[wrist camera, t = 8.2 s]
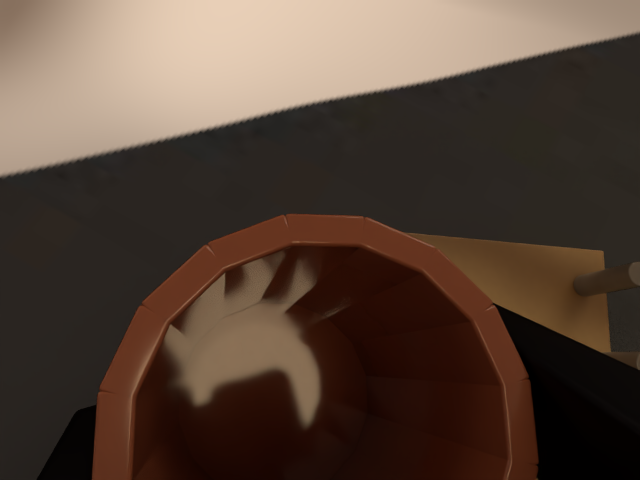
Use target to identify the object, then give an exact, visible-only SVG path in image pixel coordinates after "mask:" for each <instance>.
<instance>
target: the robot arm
mask: <svg viewBox="0 0 640 480" xmlns="http://www.w3.org/2000/svg"><path fill="white" fill-rule="evenodd" d="M492 305H495V306H496V308H497V310H498V312H499V314H500V316H501V318H502V320H503V322H504V324H505V327H506V329H507V331H508V333H509V335H510V337H511V339H512V341H513V343H514V345H515V348H516V350H517V352H518V354H519V356H520V358H521V360H522V362H523V364H524V366H525V369H526V371H527V373H528V375H529V378H528V379H529V380H530V382H531V390H532V400H533V409H534V419H535V429H536V438H537V448H538V457H539V463H538V464H537V466H538V473H537V477H536V478H537V480H640V370H638V369H636V368H634V367H632V366H630V365H628V364H625V363H623V362H621V361H619V360H617V359H615V358H612V357H610V356H608V355H606V354H604V353H601V352H599V351H597V350H595V349H593V348H591V347H588V346H586V345H584V344H582V343H580V342H578V341H575V340H573V339H571V338H569V337H567V336H565V335H562V334H560V333H558V332H556V331H554V330H552V329H549V328H547V327H545V326H543V325H541V324H538V323H536V322H534V321H532V320H530V319H528V318H525V317H523V316H521V315H519V314H517V313H515V312H512V311H510V310H508V309H506V308H504V307H502V306H499V305H497V304H495V303H493V304H492ZM95 419H96V405H94V406H91V407H87V408H84V409H80V410H78V411H77V412H76V413H75V414H74V415H73V417H72V419H71V421H70V422H69V424H68V426H67V428H66V429H65V431H64V433H63V435H62V436H61V438H60V440H59V442H58V443H57V445H56V447H55V449H54V450H53V452H52V454H51V456H50V457H49V459H48V461H47V462H46V464H45V466H44V468H43V469H42V471H41V473H40V475H39V476H38V478H37V480H91V477H92V463H93V448H94V433H95Z"/></svg>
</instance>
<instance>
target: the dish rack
mask: <svg viewBox="0 0 640 480" xmlns="http://www.w3.org/2000/svg"><path fill="white" fill-rule="evenodd" d="M403 233H404V232H403ZM405 234H408V235H410V236H412V237H415V238H417V239H419V240H422V241H424V242H426V243H429V244H431V245H433V246H435V247H436V249H439V250H441V251H442V252H443V253H444V254H445V255H446V256H447V257H448V258H449V259H450V260H451V261H452V262H453V263H454V264H455V265H456V266H457V267H458V268H459V269H460V270H461V271H462V272H463V273H464V274H465V275H466V276H467V277H468V278H469V279H470V280H471V281H472V282H473V283H474V284H475V285H476V286H477V287H478V288H479V289H480V290H481V291H482V292H484V293H485V294H486V295H487V296H488V297H489V298H490V299H491V300H492V302H493V303H495V304H497V305H499V306H502V307H504V308H506V309H508V310H510V311H512V312H515V313H517V314H519V315H521V316H523V317H525V318H528V319H530V320H532V321H534V322H536V323H538V324H541V325H543V326H545V327H547V328H549V329H552V330H554V331H556V332H558V333H560V334H562V335H565V336H567V337H569V338H571V339H573V340H575V341H578V342H580V343H582V344H584V345H586V346H588V347H591V348H593V349H595V350H597V351H599V352H601V353H604V354H606V355H608V356H610V357H612V358H615V359H617V360H619V361H621V362H623V363H625V364H628V365H630V366H632V367H634V368H636V369H638V370H640V351H631V352H611V349H610V335H609V322H608V308H607V295H606V293H609V292H615V291H620V290H626V289H631V288H637V287H640V262H633V263H629V264H624V265H620V266H616V267H612V268H608V269H605V268H604V254H603V251H597V250H586V249H575V248H565V247H554V246H543V245H533V244H522V243H511V242H500V241H490V240H479V239H468V238H457V237H447V236H436V235H425V234H414V233H405ZM536 480H537V478H536Z"/></svg>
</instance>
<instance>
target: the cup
mask: <svg viewBox="0 0 640 480" xmlns="http://www.w3.org/2000/svg"><path fill="white" fill-rule="evenodd" d="M492 304H493V302H492V300H491V299H490V298H489V297H488V296H487V295H486V294H485V293H484V292H482V291H481V290H480V289H479V288H478V287H477V286H476V285H475V284H474V283H473V282H472V281H471V280H470V279H469V278H468V277H467V276H466V275H465V274H464V273H463V272H462V271H461V270H460V269H459V268H458V267H457V266H456V265H455V264H454V263H453V262H452V261H451V260H450V259H449V258H448V257H447V256H446V255H445V254H444V253H443V252H442V251H441V250H439V249H436V247H435V246H433V245H431V244H429V243H426V242H424V241H422V240H419V239H417V238H415V237H412V236H410V235H408V234H405V233H403V232H401V231H399V230H396V229H394V228H392V227H389V226H387V225H385V224H382V223H380V222H378V221H375V220H373V219H371V218H369V217H365V218H364V217H363V216H355V215H319V214H286V215H285V216H284V215H279V216H277V217H274V218H271V219H269V220H266V221H263V222H261V223H258V224H255V225H253V226H250V227H247V228H244V229H242V230H239V231H236V232H234V233H231V234H228V235H226V236H223V237H220V238H218V239H215V240H212V241H210V242H209V243H208V245H204V246H202V247H201V248H200V249H199V250H198V251H197V252H195V253H194V254H193V255H192V256H191V257H190V258H189V259H188V260H187V261H186V262H185V263H183V264H182V265H181V266H180V267H179V268H178V269H177V270H176V271H175V272H174V273H173V274H171V275H170V276H169V277H168V278H167V279H166V280H165V281H164V282H163V283H162V284H160V285H159V286H158V287H157V288H156V289H155V290H154V291H153V292H152V293H151V294H150V295H148V296H147V297H146V298H145V299H144V300H143V302H142V305H140V306H139V307H138V308H137V310H136V312H135V314H134V316H133V318H132V320H131V322H130V324H129V326H128V328H127V331H126V333H125V335H124V337H123V339H122V341H121V343H120V345H119V347H118V349H117V351H116V353H115V355H114V357H113V359H112V361H111V364H110V366H109V368H108V370H107V372H106V374H105V376H104V378H103V380H102V382H101V384H100V388H99V390H100V392H99V393H98V395H97V404H96V419H95V433H94V448H93V463H92V477H91V480H536V477H537V473H538V466H537V464H538V463H539V457H538V448H537V438H536V429H535V419H534V409H533V400H532V390H531V382H530V380H529V379H528V378H529V375H528V373H527V371H526V369H525V366H524V364H523V362H522V360H521V358H520V356H519V354H518V352H517V350H516V348H515V345H514V343H513V341H512V339H511V337H510V335H509V333H508V331H507V329H506V327H505V324H504V322H503V320H502V318H501V316H500V314H499V312H498V310H497V308H496V306H495V305H492Z"/></svg>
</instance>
